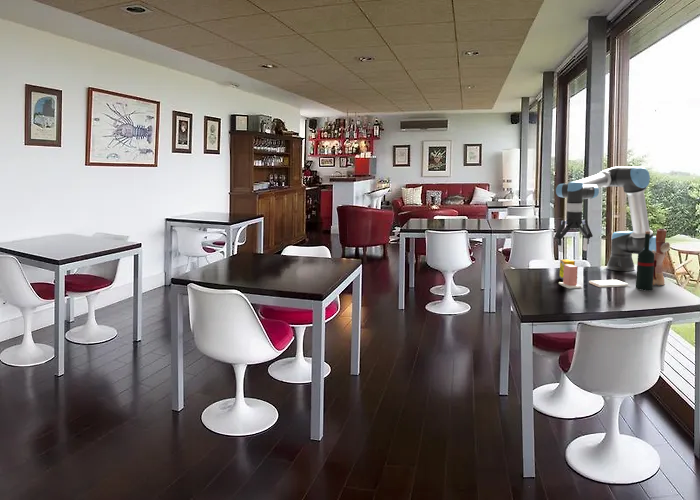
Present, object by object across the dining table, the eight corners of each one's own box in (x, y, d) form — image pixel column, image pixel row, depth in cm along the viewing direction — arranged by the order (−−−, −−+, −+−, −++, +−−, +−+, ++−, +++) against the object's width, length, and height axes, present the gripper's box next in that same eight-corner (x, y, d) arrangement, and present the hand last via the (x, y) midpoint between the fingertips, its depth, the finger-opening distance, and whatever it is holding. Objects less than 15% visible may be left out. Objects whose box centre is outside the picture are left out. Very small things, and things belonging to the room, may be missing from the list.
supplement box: (559, 278, 328) (559, 259, 326) (569, 278, 328) (570, 259, 327) (563, 280, 322) (564, 261, 320) (574, 280, 323) (575, 261, 321)
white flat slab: (616, 281, 317) (616, 279, 316) (628, 286, 306) (628, 283, 306) (589, 283, 315) (589, 280, 315) (600, 287, 304) (600, 284, 304)
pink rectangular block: (570, 283, 314) (571, 263, 312) (581, 288, 303) (582, 267, 301) (558, 284, 313) (559, 264, 311) (568, 288, 302) (569, 267, 300)
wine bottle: (660, 290, 296) (664, 232, 291) (641, 290, 295) (644, 232, 290) (650, 286, 303) (654, 230, 299) (632, 287, 303) (635, 230, 298)
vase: (646, 282, 314) (649, 227, 309) (659, 282, 313) (663, 227, 309) (655, 286, 303) (659, 230, 299) (669, 286, 303) (673, 230, 298)
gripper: (593, 209, 308) (591, 248, 311) (548, 211, 305) (547, 250, 308) (600, 210, 301) (598, 251, 304) (555, 212, 298) (553, 253, 301)
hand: (572, 251), depth 306 cm, fingers open, 13 cm apart
